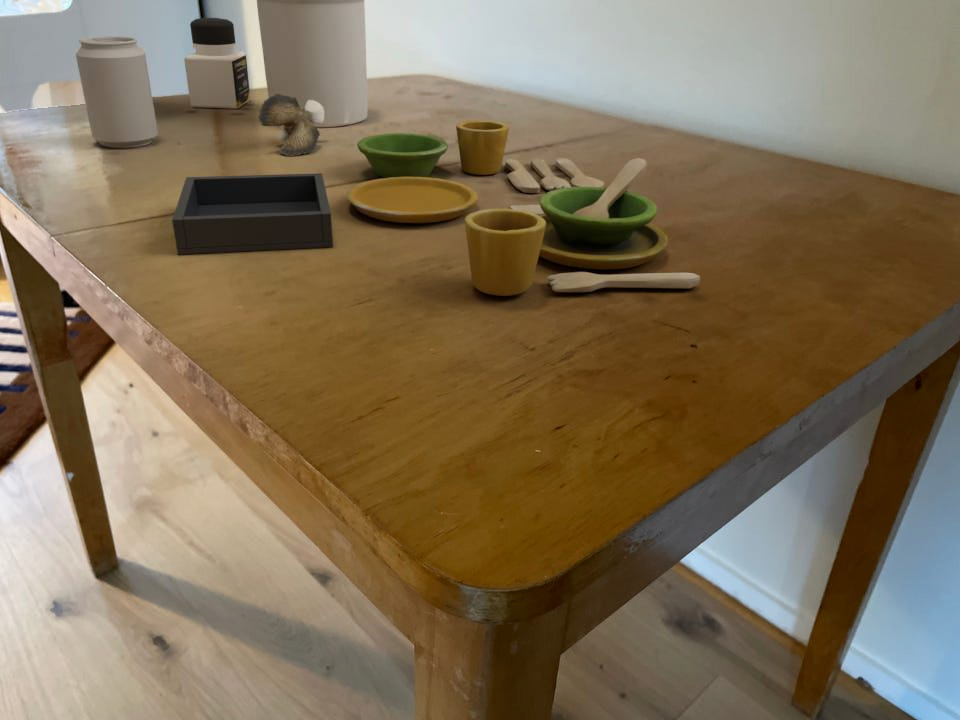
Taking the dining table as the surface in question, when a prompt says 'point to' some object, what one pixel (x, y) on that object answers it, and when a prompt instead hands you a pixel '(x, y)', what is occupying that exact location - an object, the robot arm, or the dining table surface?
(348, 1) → the utensil holder
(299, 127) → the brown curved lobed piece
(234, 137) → the dining table surface
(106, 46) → the can
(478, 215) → the tableware set
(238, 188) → the dark grey tray
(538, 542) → the dining table surface
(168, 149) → the dining table surface
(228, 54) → the medicine bottle
